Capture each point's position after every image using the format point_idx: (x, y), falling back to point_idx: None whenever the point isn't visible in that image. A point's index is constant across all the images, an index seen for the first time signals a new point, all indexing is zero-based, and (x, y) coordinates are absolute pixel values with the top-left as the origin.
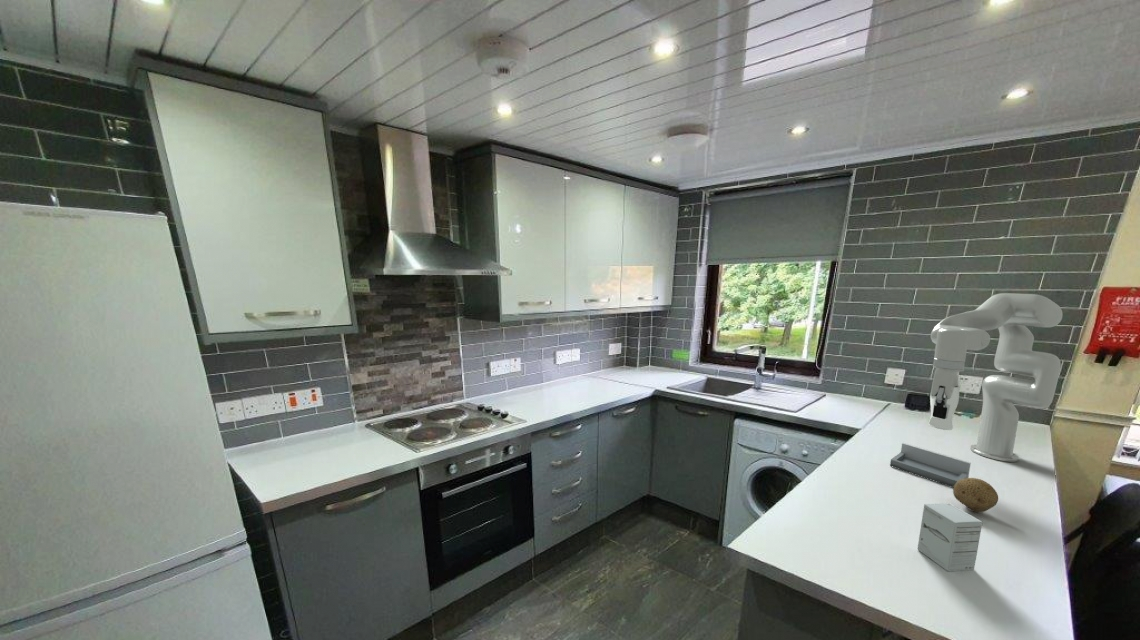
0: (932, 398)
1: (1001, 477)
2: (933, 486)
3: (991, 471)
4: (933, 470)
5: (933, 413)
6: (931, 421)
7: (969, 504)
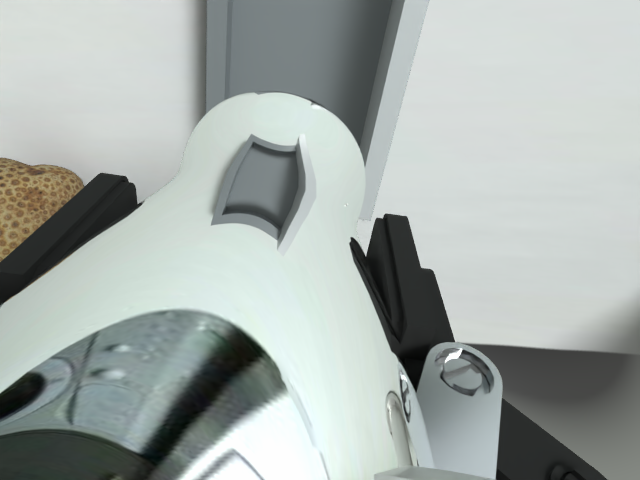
0: None
1: (479, 264)
2: (147, 76)
3: (526, 243)
4: (313, 70)
5: (84, 194)
6: (204, 130)
7: None
